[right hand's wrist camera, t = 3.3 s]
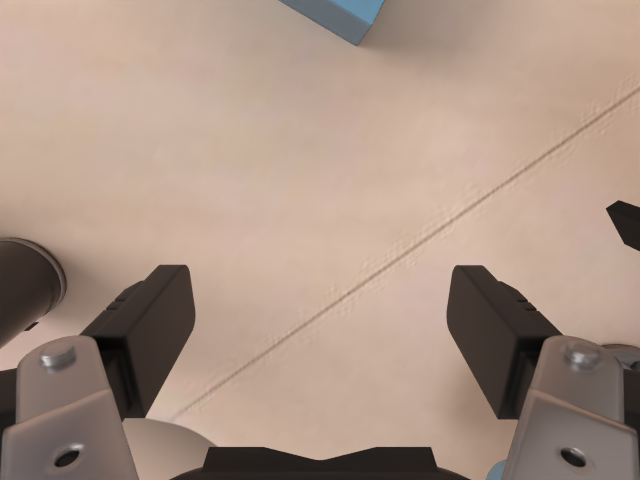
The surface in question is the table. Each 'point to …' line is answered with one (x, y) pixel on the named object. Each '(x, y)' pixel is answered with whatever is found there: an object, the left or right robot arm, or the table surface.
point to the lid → (360, 9)
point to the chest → (330, 18)
